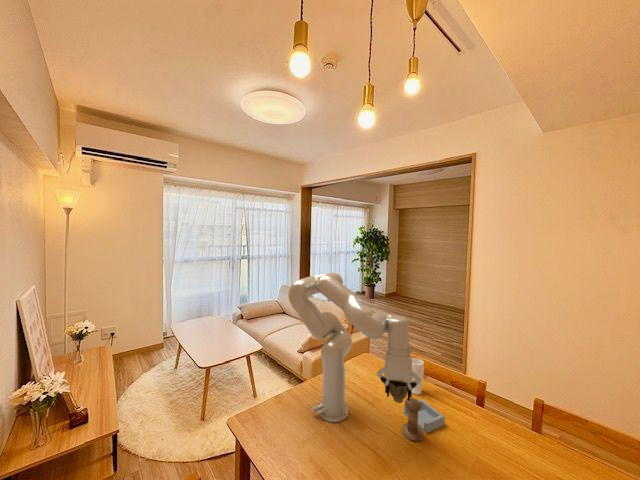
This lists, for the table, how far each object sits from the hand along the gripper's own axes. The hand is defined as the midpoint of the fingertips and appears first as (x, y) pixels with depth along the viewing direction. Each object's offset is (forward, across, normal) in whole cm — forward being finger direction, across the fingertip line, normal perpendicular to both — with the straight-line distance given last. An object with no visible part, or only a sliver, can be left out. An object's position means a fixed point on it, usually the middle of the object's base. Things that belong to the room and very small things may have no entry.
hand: (398, 396), depth 97 cm
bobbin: (+15, -5, -3) cm, 16 cm away
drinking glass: (+15, -8, -31) cm, 35 cm away
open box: (+15, -10, -12) cm, 22 cm away
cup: (+2, 0, 0) cm, 2 cm away
